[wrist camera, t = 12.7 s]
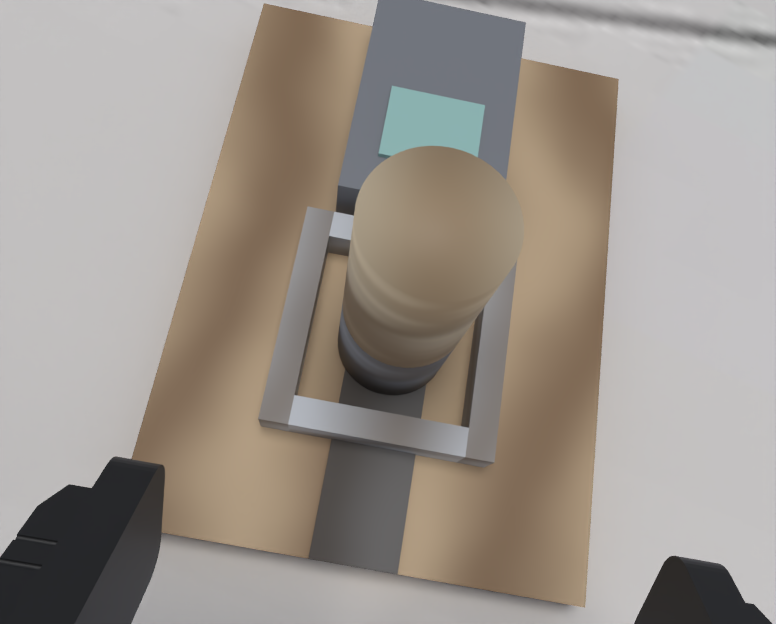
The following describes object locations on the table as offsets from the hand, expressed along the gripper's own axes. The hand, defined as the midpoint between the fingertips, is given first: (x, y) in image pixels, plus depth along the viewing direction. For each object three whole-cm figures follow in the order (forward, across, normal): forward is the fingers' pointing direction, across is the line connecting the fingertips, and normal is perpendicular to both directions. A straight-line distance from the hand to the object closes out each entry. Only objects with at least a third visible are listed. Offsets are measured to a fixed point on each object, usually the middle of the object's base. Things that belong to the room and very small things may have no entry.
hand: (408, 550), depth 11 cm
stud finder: (+21, 0, -3) cm, 21 cm away
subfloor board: (+18, 0, +3) cm, 18 cm away
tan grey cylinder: (+14, 0, +4) cm, 15 cm away
